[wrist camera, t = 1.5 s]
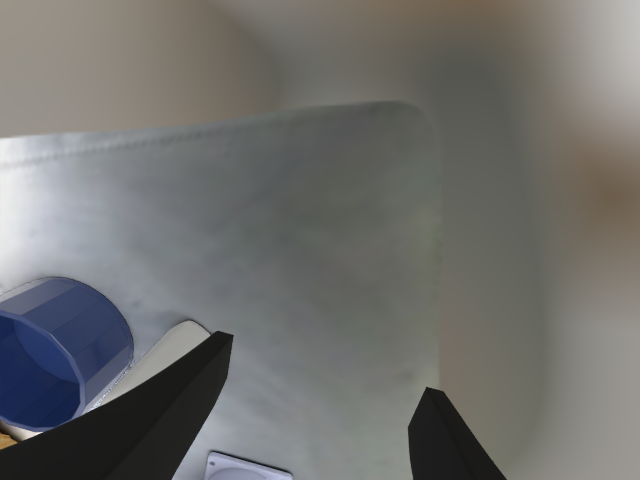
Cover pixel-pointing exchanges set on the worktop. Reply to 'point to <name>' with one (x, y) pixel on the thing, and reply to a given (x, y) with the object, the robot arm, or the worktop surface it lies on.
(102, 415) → the robot arm
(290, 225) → the worktop surface
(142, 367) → the eye dropper bottle
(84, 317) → the blue bowl
